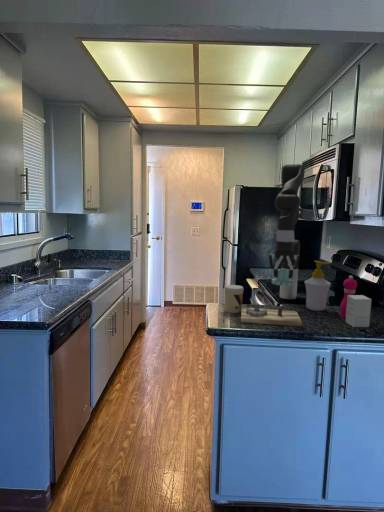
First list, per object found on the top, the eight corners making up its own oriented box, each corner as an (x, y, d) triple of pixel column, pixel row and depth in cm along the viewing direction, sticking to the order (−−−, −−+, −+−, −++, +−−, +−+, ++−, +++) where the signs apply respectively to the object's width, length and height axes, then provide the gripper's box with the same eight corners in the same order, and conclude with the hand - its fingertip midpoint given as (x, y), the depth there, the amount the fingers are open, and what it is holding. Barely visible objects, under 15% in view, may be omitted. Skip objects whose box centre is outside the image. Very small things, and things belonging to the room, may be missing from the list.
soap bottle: (320, 314, 169) (324, 264, 166) (297, 308, 178) (300, 260, 175) (333, 309, 177) (337, 261, 174) (310, 304, 187) (313, 258, 183)
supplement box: (360, 321, 159) (363, 294, 157) (369, 327, 151) (372, 299, 150) (344, 321, 158) (347, 294, 157) (352, 327, 151) (355, 298, 149)
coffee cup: (236, 314, 165) (237, 289, 164) (219, 310, 171) (220, 286, 169) (246, 310, 173) (247, 286, 171) (229, 306, 178) (230, 283, 177)
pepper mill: (346, 319, 161) (349, 277, 159) (335, 315, 168) (339, 274, 166) (359, 318, 163) (363, 276, 161) (348, 314, 170) (352, 273, 168)
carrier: (241, 311, 170) (241, 298, 169) (296, 315, 166) (297, 302, 166) (240, 322, 155) (241, 307, 154) (301, 326, 151) (302, 311, 150)
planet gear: (270, 280, 163) (271, 268, 162) (292, 281, 161) (292, 269, 161) (272, 285, 153) (273, 271, 152) (295, 286, 152) (296, 272, 151)
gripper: (300, 240, 157) (298, 276, 160) (268, 239, 159) (266, 275, 162) (303, 241, 150) (300, 280, 152) (269, 240, 152) (267, 278, 154)
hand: (282, 277), depth 157 cm, fingers closed on planet gear, 5 cm apart
